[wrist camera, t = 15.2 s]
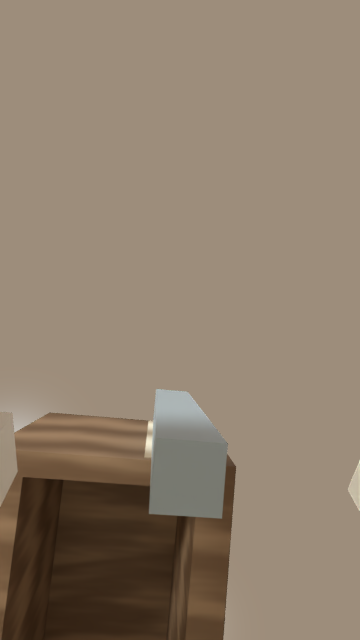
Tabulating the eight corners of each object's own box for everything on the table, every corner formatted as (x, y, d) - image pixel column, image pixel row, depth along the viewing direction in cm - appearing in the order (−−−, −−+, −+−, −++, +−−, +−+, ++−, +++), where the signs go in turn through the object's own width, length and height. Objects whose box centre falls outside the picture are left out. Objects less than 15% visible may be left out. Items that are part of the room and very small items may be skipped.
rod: (221, 518, 19) (227, 443, 19) (148, 513, 19) (156, 437, 19) (184, 423, 44) (187, 391, 44) (153, 421, 43) (156, 389, 44)
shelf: (204, 884, 26) (236, 465, 29) (-75, 883, 24) (-13, 446, 27) (186, 680, 41) (207, 424, 44) (16, 673, 40) (49, 411, 43)
